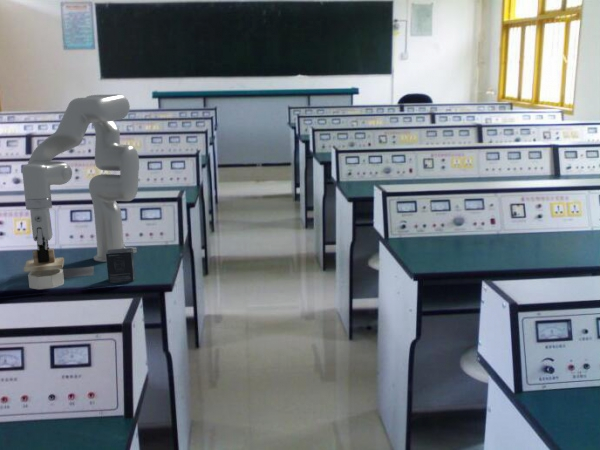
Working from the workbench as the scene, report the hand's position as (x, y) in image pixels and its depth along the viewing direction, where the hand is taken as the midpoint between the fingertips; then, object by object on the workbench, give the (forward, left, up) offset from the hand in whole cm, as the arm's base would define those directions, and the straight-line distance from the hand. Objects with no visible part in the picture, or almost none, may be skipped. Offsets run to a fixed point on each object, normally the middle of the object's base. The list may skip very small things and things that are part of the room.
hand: (44, 260), depth 196 cm
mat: (-8, -12, -8) cm, 17 cm away
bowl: (0, 0, -8) cm, 8 cm away
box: (-23, +3, -9) cm, 25 cm away
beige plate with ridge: (0, 0, -2) cm, 2 cm away
